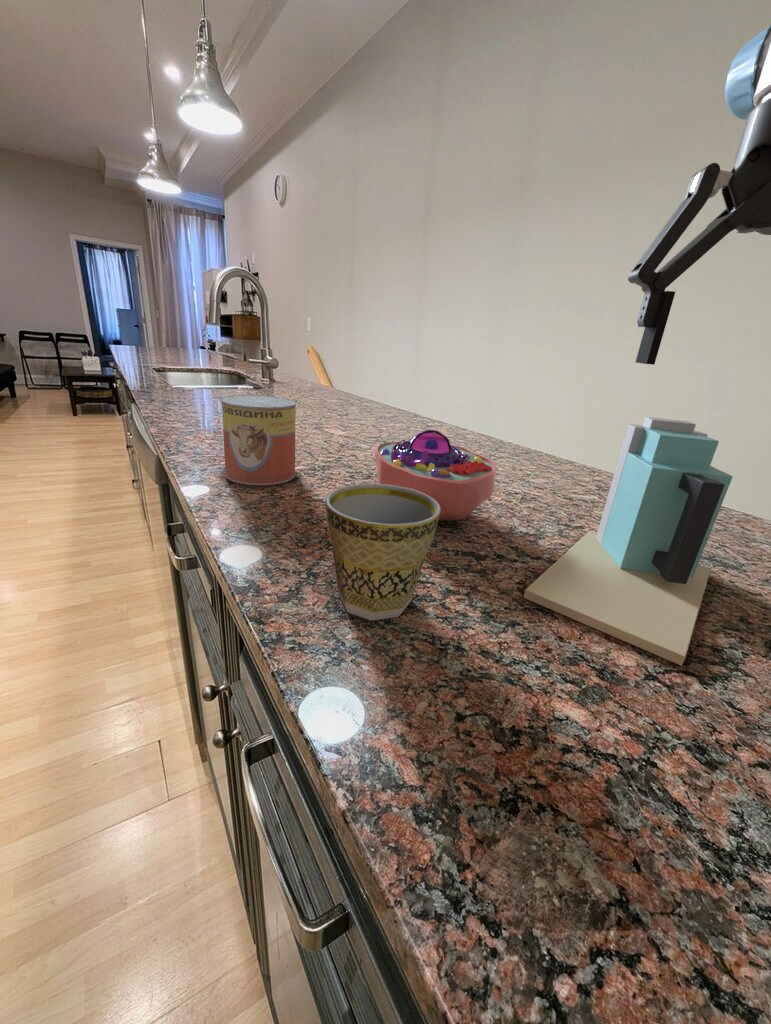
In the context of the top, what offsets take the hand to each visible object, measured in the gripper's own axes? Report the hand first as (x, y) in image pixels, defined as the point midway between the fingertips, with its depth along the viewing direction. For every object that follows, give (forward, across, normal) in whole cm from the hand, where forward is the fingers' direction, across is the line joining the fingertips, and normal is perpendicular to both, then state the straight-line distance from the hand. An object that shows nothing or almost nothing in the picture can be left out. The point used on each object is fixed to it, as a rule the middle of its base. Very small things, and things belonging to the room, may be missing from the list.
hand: (714, 370), depth 45 cm
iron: (+14, 0, -6) cm, 15 cm away
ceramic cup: (+23, +30, +13) cm, 40 cm away
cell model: (+23, +26, -10) cm, 36 cm away
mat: (+23, +4, +5) cm, 24 cm away
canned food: (+23, +54, -18) cm, 62 cm away
